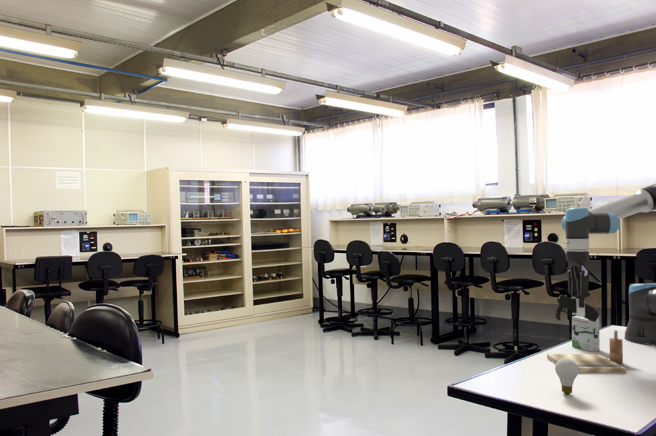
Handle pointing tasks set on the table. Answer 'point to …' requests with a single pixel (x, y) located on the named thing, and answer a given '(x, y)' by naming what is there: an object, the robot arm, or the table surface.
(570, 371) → the light bulb
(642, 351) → the table surface
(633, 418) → the table surface
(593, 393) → the table surface
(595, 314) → the gun
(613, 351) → the awl
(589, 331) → the ink box
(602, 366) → the board
